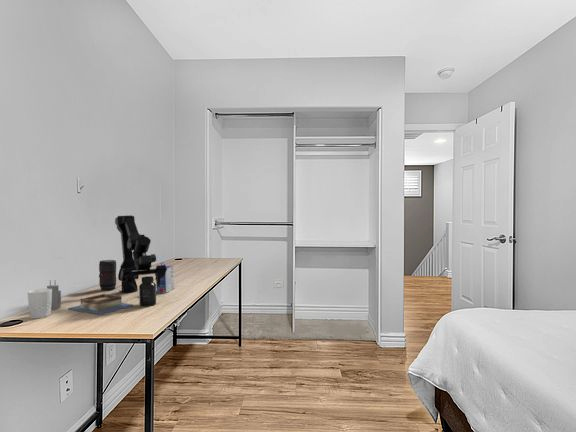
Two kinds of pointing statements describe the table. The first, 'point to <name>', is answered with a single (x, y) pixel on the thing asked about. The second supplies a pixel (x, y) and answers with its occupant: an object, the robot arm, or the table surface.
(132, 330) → the table surface
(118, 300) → the foundation socket
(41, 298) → the white cup
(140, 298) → the supplement bottle
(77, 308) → the board
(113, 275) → the camera lens
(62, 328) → the table surface
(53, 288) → the power adapter
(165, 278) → the ink cartridge box
